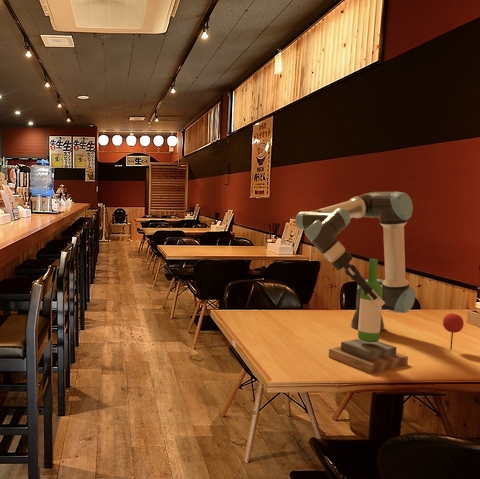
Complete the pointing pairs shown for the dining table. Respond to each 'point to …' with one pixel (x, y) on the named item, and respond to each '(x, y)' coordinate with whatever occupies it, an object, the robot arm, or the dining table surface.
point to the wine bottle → (370, 308)
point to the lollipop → (453, 324)
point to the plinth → (368, 363)
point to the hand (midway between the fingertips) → (380, 303)
